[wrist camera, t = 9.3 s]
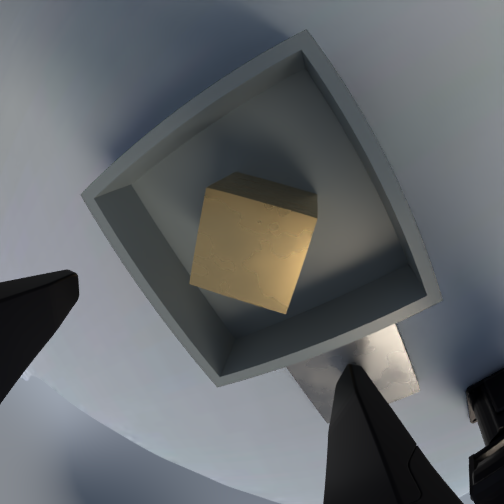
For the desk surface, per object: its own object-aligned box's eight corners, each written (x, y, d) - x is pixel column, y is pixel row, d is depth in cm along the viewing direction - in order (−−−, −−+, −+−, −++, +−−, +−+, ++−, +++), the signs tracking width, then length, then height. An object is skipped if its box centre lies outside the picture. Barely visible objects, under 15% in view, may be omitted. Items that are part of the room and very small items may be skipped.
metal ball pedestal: (418, 383, 23) (435, 454, 16) (327, 415, 26) (323, 486, 19) (389, 308, 21) (411, 385, 14) (282, 351, 24) (266, 430, 17)
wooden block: (317, 194, 19) (317, 218, 14) (294, 268, 21) (285, 314, 16) (235, 171, 19) (206, 187, 14) (219, 246, 21) (189, 284, 16)
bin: (419, 264, 20) (443, 300, 15) (234, 345, 25) (217, 387, 20) (309, 53, 16) (306, 29, 12) (123, 179, 22) (80, 194, 17)
